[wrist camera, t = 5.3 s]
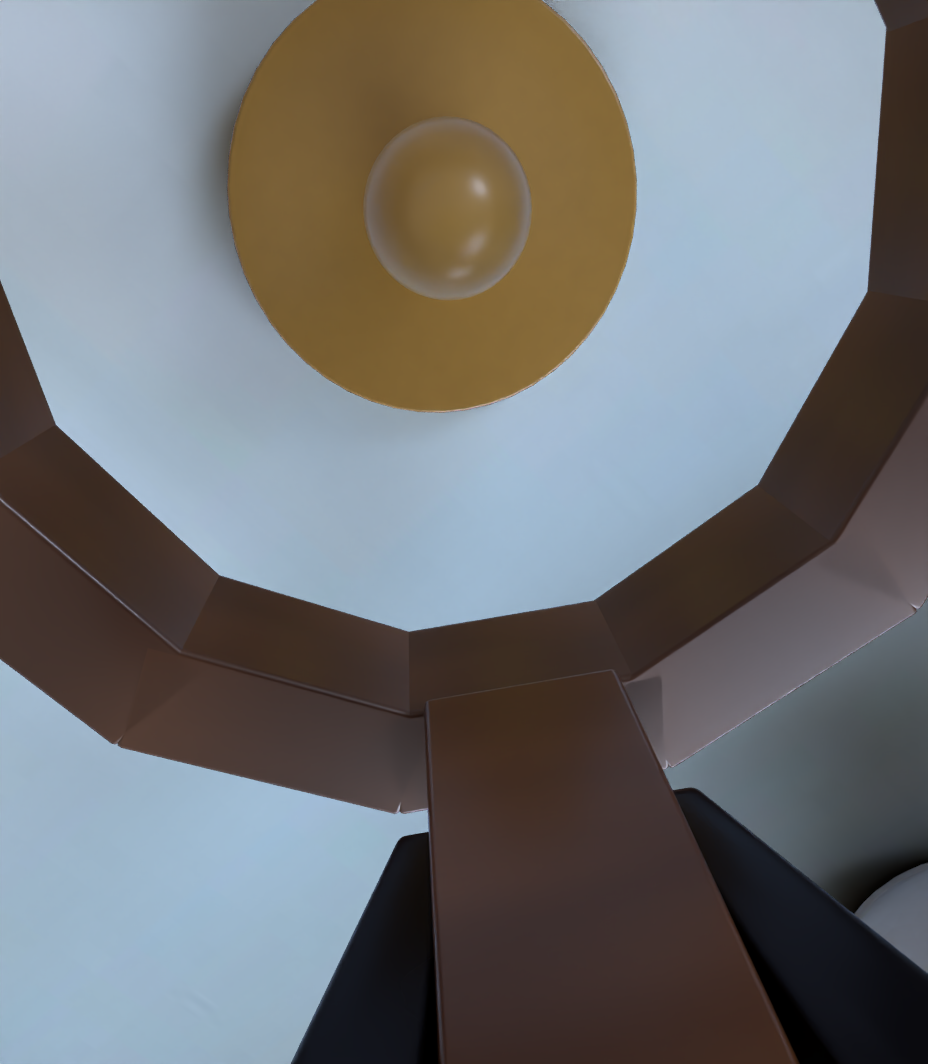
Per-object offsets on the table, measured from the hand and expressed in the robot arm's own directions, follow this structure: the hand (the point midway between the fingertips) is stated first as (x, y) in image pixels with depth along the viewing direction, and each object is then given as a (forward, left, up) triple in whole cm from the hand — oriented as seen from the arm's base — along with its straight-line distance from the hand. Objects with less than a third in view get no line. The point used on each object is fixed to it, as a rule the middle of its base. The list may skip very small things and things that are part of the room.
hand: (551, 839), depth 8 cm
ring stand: (0, -6, -11) cm, 13 cm away
